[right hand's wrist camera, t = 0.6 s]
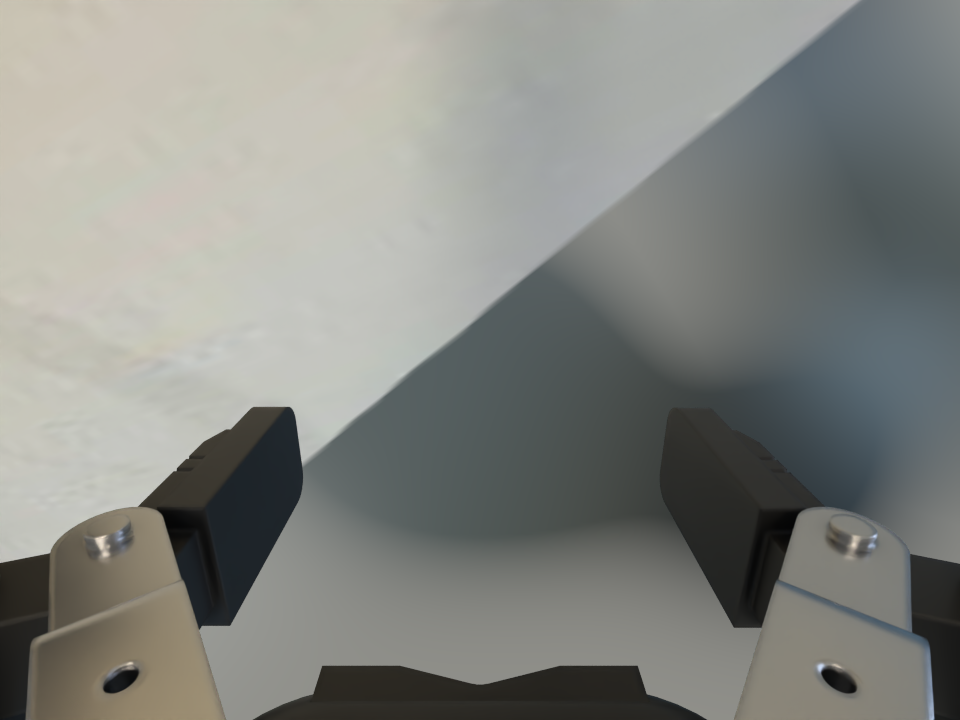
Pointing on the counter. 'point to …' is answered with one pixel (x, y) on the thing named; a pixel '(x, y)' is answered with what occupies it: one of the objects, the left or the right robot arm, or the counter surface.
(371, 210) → the counter surface
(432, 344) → the counter surface
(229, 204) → the counter surface
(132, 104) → the counter surface
